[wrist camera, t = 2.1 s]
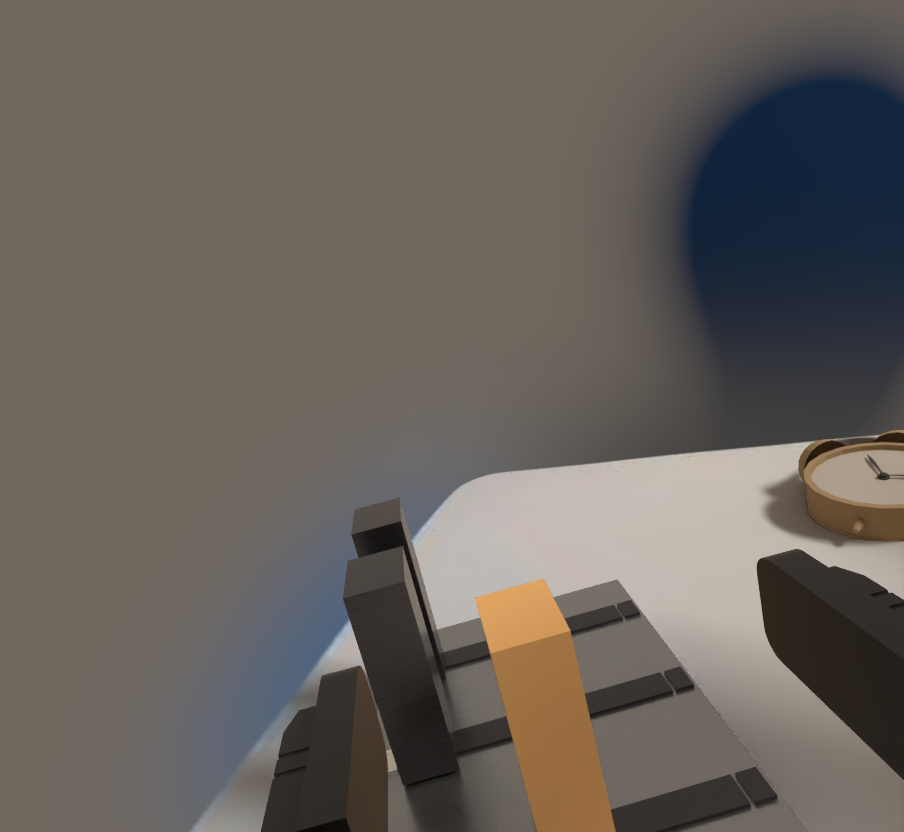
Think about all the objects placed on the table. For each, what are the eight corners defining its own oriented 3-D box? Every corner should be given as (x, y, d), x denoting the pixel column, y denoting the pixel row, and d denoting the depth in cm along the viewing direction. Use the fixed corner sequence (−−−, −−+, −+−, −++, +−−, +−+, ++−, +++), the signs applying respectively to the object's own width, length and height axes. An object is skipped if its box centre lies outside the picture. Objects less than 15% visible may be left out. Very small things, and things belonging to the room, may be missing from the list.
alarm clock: (824, 518, 47) (779, 423, 60) (828, 569, 49) (783, 467, 62) (1008, 501, 43) (918, 404, 56) (1004, 557, 45) (918, 451, 58)
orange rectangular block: (551, 887, 25) (490, 653, 23) (529, 805, 29) (475, 597, 27) (623, 866, 25) (570, 630, 23) (591, 787, 29) (543, 578, 27)
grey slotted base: (389, 1054, 24) (278, 757, 20) (387, 675, 46) (334, 504, 43) (839, 915, 24) (802, 608, 21) (623, 609, 47) (588, 436, 44)
